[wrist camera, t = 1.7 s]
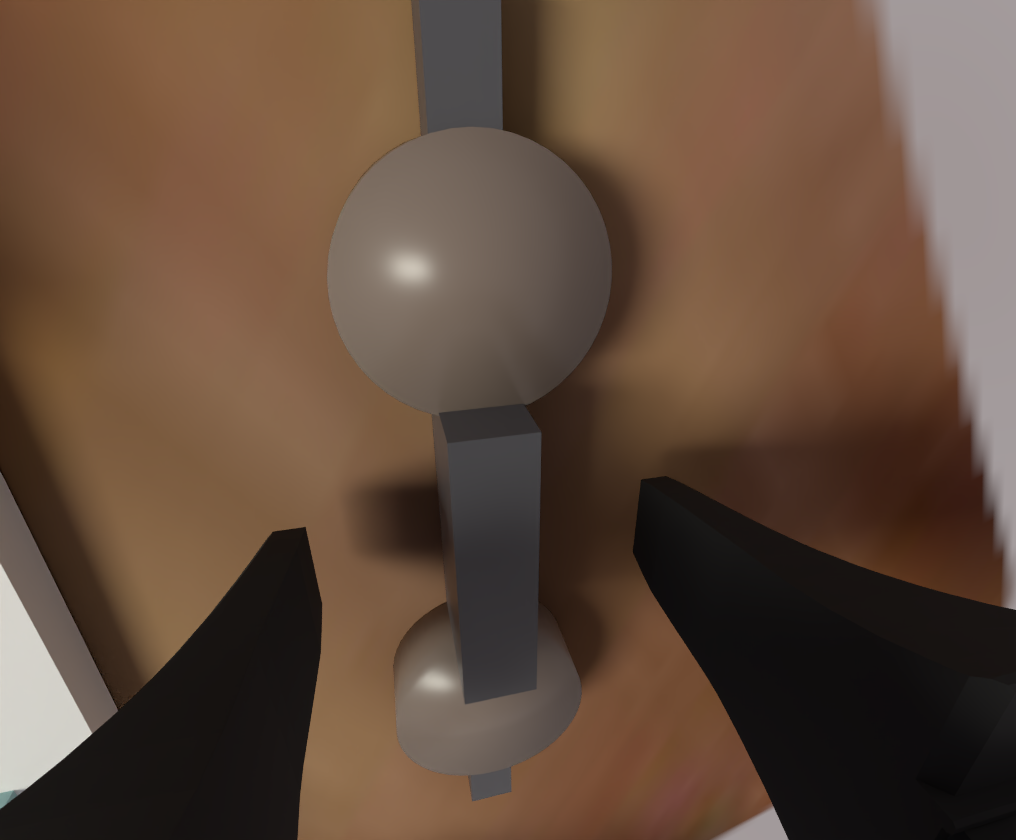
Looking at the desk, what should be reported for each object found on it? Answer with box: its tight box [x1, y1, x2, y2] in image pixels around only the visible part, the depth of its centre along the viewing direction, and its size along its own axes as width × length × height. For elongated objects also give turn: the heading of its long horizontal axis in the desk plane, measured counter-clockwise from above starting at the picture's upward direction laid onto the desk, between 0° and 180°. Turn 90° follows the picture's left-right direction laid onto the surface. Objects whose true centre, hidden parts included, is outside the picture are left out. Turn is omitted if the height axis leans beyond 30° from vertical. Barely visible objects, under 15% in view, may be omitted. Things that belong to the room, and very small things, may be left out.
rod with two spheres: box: [327, 0, 612, 801], centre depth 12 cm, size 20×5×3 cm, turn 1°
